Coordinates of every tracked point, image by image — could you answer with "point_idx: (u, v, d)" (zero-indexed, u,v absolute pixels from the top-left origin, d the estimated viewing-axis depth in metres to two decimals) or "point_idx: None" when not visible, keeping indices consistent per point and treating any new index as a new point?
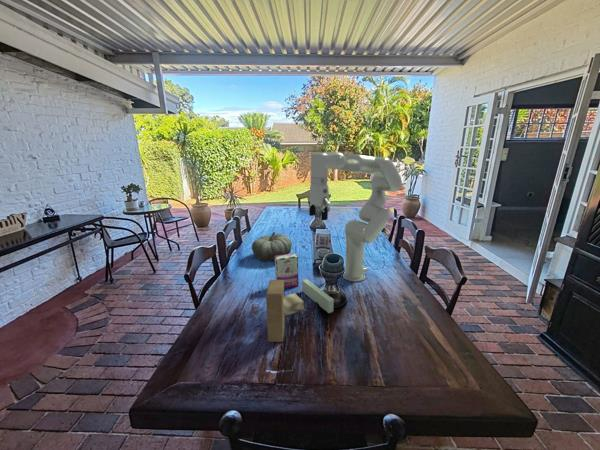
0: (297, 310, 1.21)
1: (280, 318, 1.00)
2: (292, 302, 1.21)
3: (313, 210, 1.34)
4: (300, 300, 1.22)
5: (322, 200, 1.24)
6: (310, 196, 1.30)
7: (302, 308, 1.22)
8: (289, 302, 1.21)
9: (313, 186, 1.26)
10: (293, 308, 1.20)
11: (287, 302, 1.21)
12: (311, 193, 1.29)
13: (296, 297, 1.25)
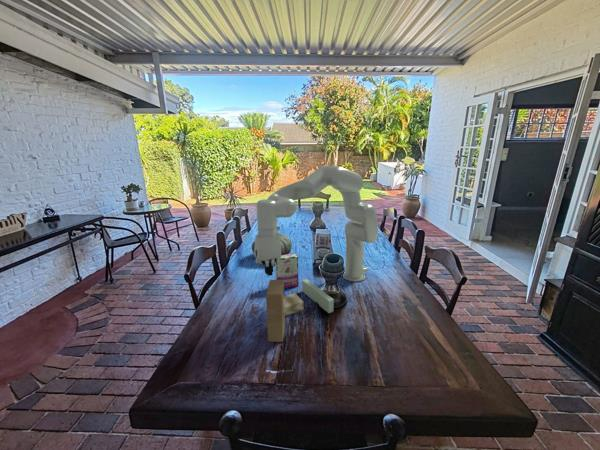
0: (297, 310, 1.21)
1: (280, 318, 1.00)
2: (292, 302, 1.21)
3: None
4: (300, 300, 1.22)
5: None
6: (262, 252, 1.07)
7: (302, 308, 1.22)
8: (289, 302, 1.21)
9: (268, 239, 1.07)
10: (292, 308, 1.19)
11: (287, 301, 1.21)
12: (265, 248, 1.07)
13: (296, 297, 1.24)
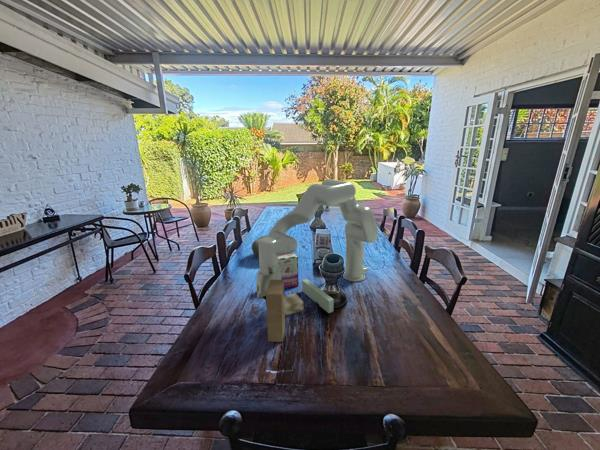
0: (297, 310, 1.21)
1: (280, 318, 1.00)
2: (292, 302, 1.21)
3: None
4: (300, 300, 1.22)
5: None
6: (263, 288, 1.11)
7: (302, 309, 1.22)
8: (289, 302, 1.21)
9: (270, 276, 1.11)
10: (292, 308, 1.19)
11: (287, 301, 1.21)
12: (266, 284, 1.11)
13: (296, 297, 1.24)
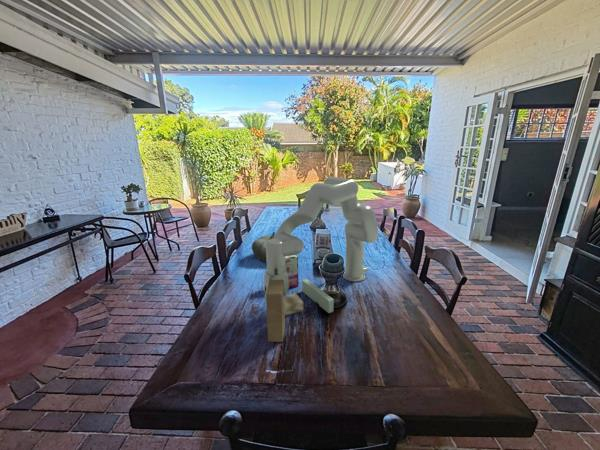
0: (296, 310, 1.21)
1: (280, 318, 1.00)
2: (292, 302, 1.21)
3: None
4: (300, 301, 1.22)
5: None
6: None
7: (302, 309, 1.22)
8: (288, 302, 1.21)
9: (277, 276, 1.13)
10: (292, 308, 1.19)
11: (286, 301, 1.21)
12: None
13: (296, 297, 1.24)
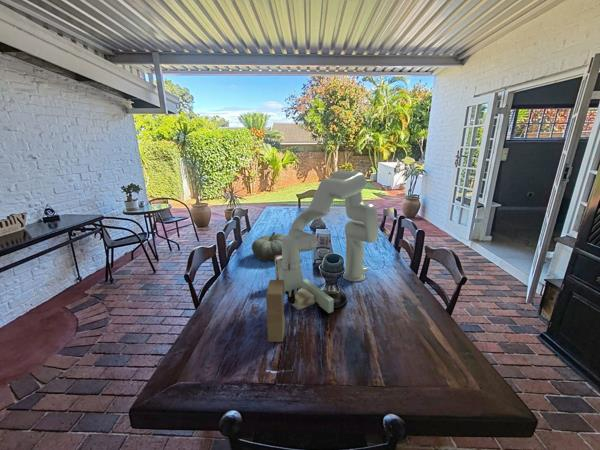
0: (309, 304, 1.26)
1: (280, 318, 1.00)
2: (304, 296, 1.25)
3: None
4: (311, 294, 1.27)
5: None
6: (286, 284, 1.17)
7: (313, 302, 1.27)
8: (301, 297, 1.25)
9: (292, 272, 1.16)
10: (305, 303, 1.24)
11: (299, 296, 1.25)
12: (288, 280, 1.17)
13: (307, 292, 1.29)
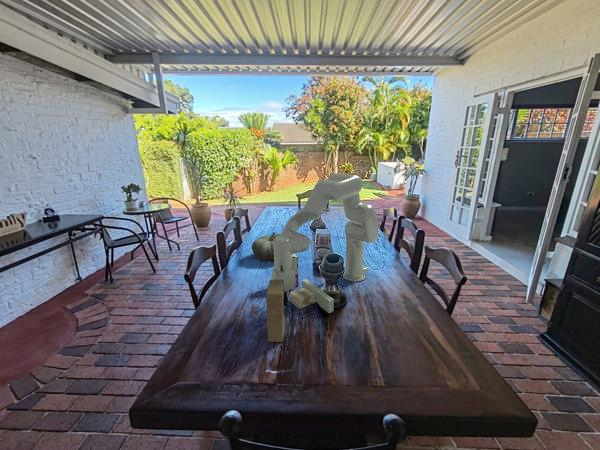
0: (310, 303, 1.26)
1: (280, 318, 1.00)
2: (305, 295, 1.26)
3: None
4: (312, 293, 1.27)
5: None
6: None
7: (314, 301, 1.28)
8: (302, 295, 1.26)
9: (284, 273, 1.15)
10: (306, 301, 1.25)
11: (300, 295, 1.26)
12: None
13: (308, 291, 1.30)
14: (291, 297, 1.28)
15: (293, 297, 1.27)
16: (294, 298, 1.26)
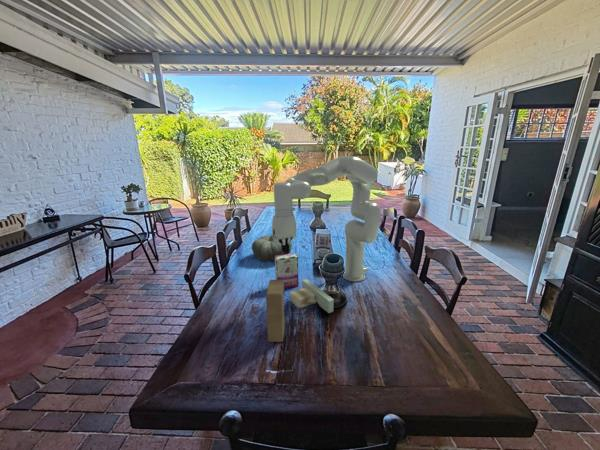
0: (309, 303, 1.26)
1: (280, 318, 1.00)
2: (305, 295, 1.26)
3: None
4: (312, 294, 1.27)
5: None
6: (279, 231, 1.16)
7: (314, 301, 1.27)
8: (302, 295, 1.26)
9: (285, 219, 1.16)
10: (305, 301, 1.25)
11: (300, 295, 1.26)
12: (282, 227, 1.16)
13: (308, 291, 1.30)
14: (291, 297, 1.28)
15: (293, 296, 1.27)
16: (293, 298, 1.26)
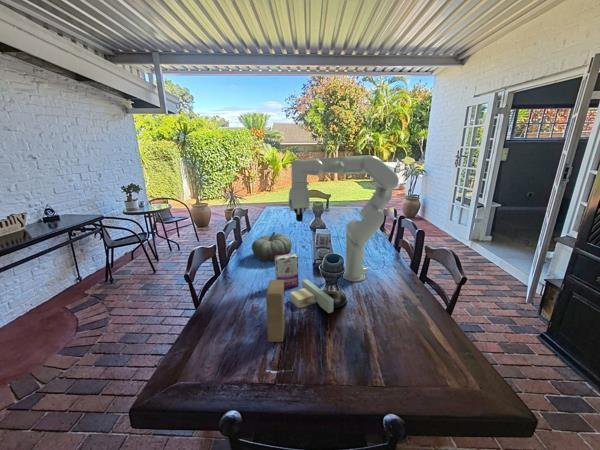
0: (309, 303, 1.26)
1: (280, 318, 1.00)
2: (305, 295, 1.26)
3: None
4: (312, 294, 1.27)
5: None
6: (295, 201, 1.36)
7: (314, 301, 1.27)
8: (302, 295, 1.26)
9: (300, 191, 1.36)
10: (305, 301, 1.25)
11: (300, 295, 1.26)
12: (297, 198, 1.36)
13: (308, 291, 1.30)
14: (291, 297, 1.28)
15: (293, 297, 1.27)
16: (294, 298, 1.26)
